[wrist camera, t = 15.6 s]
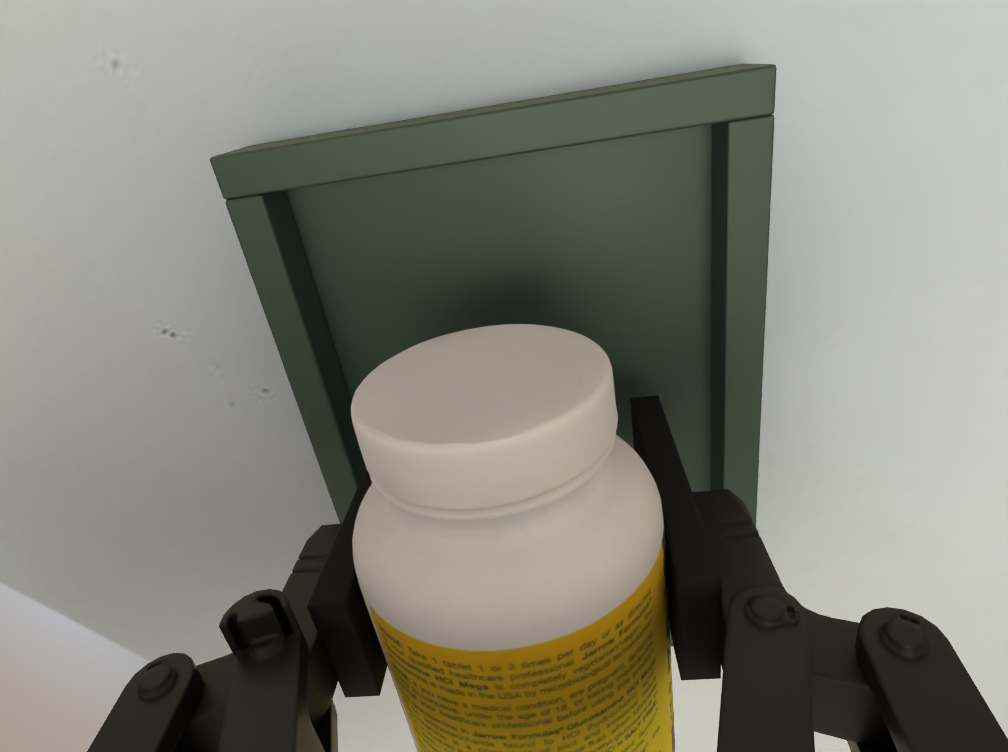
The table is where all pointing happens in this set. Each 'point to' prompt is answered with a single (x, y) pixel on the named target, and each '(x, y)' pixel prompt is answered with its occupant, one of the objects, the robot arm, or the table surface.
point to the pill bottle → (513, 547)
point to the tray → (529, 251)
